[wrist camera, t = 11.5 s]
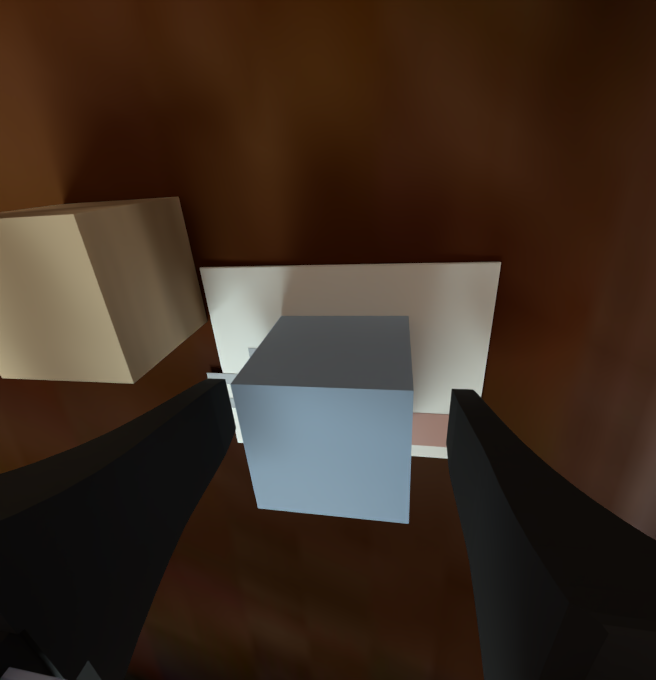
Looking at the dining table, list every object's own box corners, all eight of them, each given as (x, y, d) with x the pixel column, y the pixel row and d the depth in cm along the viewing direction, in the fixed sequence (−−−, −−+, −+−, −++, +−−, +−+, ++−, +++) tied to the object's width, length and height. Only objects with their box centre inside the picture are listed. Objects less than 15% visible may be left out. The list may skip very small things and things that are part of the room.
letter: (499, 261, 11) (501, 263, 11) (471, 457, 15) (471, 460, 14) (183, 267, 13) (181, 268, 13) (225, 439, 17) (223, 441, 16)
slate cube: (408, 315, 12) (413, 391, 8) (405, 421, 14) (408, 523, 10) (281, 315, 13) (230, 384, 9) (295, 416, 15) (257, 508, 11)
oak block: (180, 196, 12) (72, 214, 8) (208, 320, 14) (133, 383, 10) (65, 203, 13) (-83, 223, 9) (107, 319, 15) (2, 378, 11)
